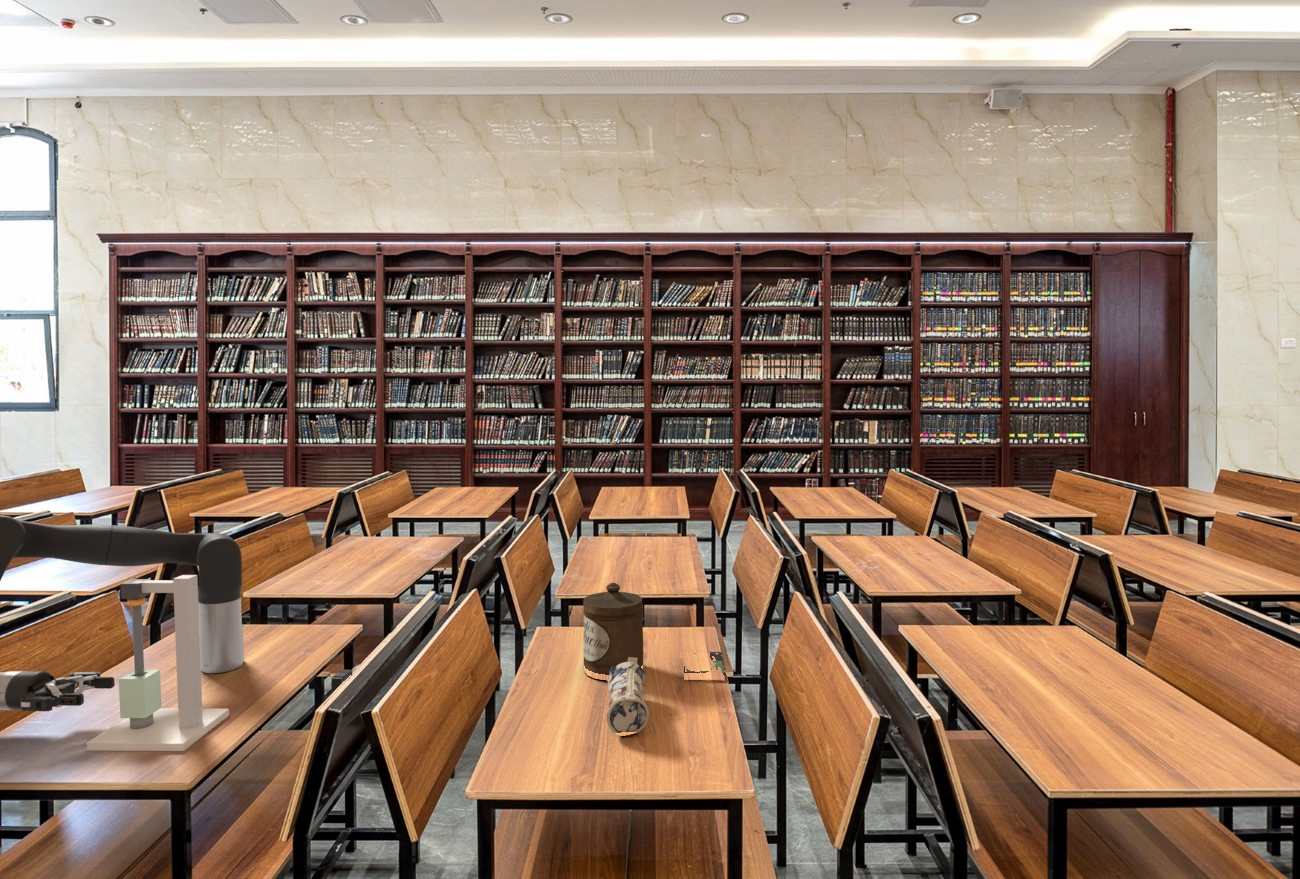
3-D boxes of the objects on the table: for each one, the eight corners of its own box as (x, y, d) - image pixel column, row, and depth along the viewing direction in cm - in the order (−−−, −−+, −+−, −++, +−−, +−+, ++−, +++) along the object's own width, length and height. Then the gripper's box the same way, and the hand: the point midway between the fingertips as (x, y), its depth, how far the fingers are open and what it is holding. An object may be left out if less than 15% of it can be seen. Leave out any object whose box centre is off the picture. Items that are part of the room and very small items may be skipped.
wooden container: (575, 665, 194) (575, 579, 193) (630, 657, 200) (630, 574, 198) (594, 686, 181) (594, 594, 179) (652, 677, 186) (653, 587, 185)
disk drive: (681, 661, 199) (683, 682, 184) (681, 650, 199) (683, 671, 184) (721, 661, 199) (726, 683, 184) (721, 651, 199) (727, 671, 184)
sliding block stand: (142, 714, 164) (136, 567, 161) (229, 715, 164) (224, 567, 161) (87, 750, 148) (79, 586, 145) (183, 751, 148) (176, 587, 145)
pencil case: (607, 698, 174) (607, 655, 173) (645, 697, 174) (645, 655, 174) (606, 742, 152) (606, 694, 151) (649, 742, 153) (649, 694, 152)
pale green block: (137, 707, 158) (135, 669, 157) (161, 707, 158) (159, 669, 157) (120, 718, 153) (118, 678, 152) (145, 718, 153) (143, 679, 152)
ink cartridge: (342, 713, 165) (341, 677, 164) (332, 713, 165) (331, 677, 164) (354, 703, 170) (352, 668, 169) (344, 703, 170) (343, 668, 169)
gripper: (-13, 686, 148) (70, 686, 148) (45, 659, 162) (122, 660, 162) (-11, 723, 148) (72, 724, 148) (47, 694, 163) (123, 694, 163)
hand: (98, 690), depth 155 cm, fingers open, 8 cm apart
